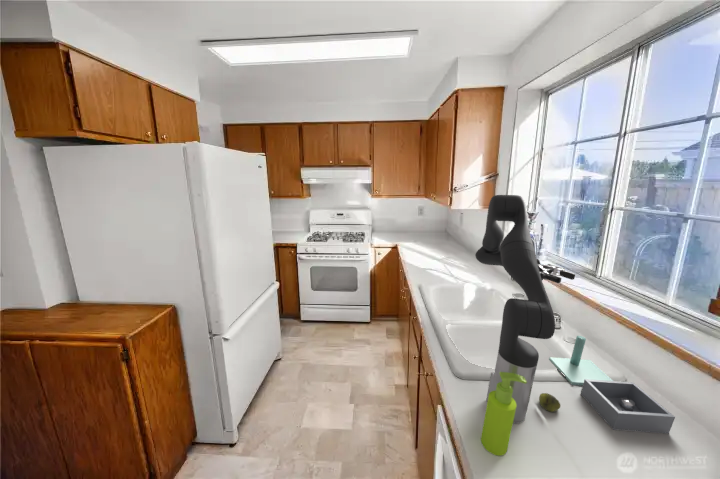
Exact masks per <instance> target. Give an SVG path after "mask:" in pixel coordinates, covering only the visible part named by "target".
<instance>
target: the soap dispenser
mask: <svg viewBox="0 0 720 479" xmlns="http://www.w3.org/2000/svg"><path fill="white" fill-rule="evenodd" d="M499 374H500V377H501V379H502V382H499V383H497V386H496V391H491V392H490V393H489V396H488V402H487V401H486V402H487V403H486V408H485V415H484V418H483V419H484V420H483V424H482V431H481V436H480V441H481V445H482V446H483V448H484V449H485V450H486V451H487V452H489V453H490V454H492V455H494V456H498V457H501V456H504V455H506V454H507V452H508V448H509V443H510V439H511V433H512V430H513V425H514V423H513V420H514V416H515V411H516V406H517V405H516V402H515V400H514V399H513V398H512V393H513V389H512V387H511V386H510V381H517V382H521V383H524V384H526V383H527V381H526V379H525V377H523V376H521V375H518V374H514V373H508V372H500V373H499Z"/></svg>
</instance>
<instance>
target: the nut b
mask: <svg viewBox="0 0 720 479" xmlns="http://www.w3.org/2000/svg"><path fill="white" fill-rule="evenodd" d="M619 405H620V406H621V407H622V408H623V409H625V410H628V411H633V410H634V407H635V403H634V401H632V400H631V399H629V398H626V397H621V400H620V403H619Z"/></svg>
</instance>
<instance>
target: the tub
mask: <svg viewBox="0 0 720 479" xmlns="http://www.w3.org/2000/svg"><path fill="white" fill-rule="evenodd" d="M580 395H581V396H582V397H583V398H584V399H585V401H587V403H588V404H589V405H590V406H591V407H592V408H593V409H594V410H595V411H596V413H598V415H599V416H600V417H601V418H602V419H603V420H604V421H605V423H607V425H609V427H610V428H611V429H612V430H615V431H627V432H628V431H629V432H643V433H657V434H658V433H659V434H670V432H671V430H672V427H673V424H674V422H675V418H676V416H674V414H672V413H671V412H670V411H669V410H667V409H666V408H665V407H664V406H662V405H661V404H660V403H659V402H658V401H656V400H655V399H654V398H653V397H652V396H651V395H649V394H648V393H647V392H646V391H645V390H643V389H642V388H641V387H639V386H638V385H637V384H636V383H635V382H634V381H620V380H619V381H618V380H617V381H616V380H613V381H605V380H589V379H585V380H584V383H583V385H582V388H581V391H580ZM621 397H626V398H629V399H631V400H632V401H634V403H635V407H634V410H633V411H628V410H625V409H623V408H622V407H621V406H620V405H619V403H620V400H621ZM617 408H619V409H621V410H622V411H619V410H618V409H617Z"/></svg>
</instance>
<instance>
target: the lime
mask: <svg viewBox="0 0 720 479" xmlns="http://www.w3.org/2000/svg"><path fill="white" fill-rule="evenodd" d="M538 401H539V404H540V406H541V407H542V409H544V410H546V411H548V412H551V413H552V412H553V413H554V412H557V411H559V409H560V408H561V403H560V402H559V400H558V399H557V398H556V397H555V396H554V395H553V394H550V393H547V392H545V393H543V392H542V393H540V394H539V397H538Z"/></svg>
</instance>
